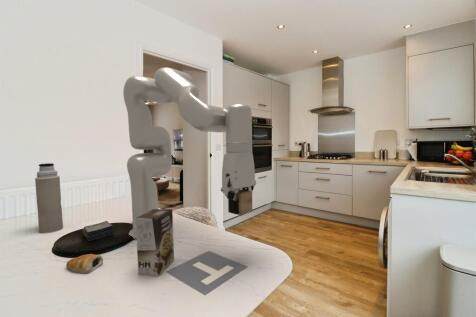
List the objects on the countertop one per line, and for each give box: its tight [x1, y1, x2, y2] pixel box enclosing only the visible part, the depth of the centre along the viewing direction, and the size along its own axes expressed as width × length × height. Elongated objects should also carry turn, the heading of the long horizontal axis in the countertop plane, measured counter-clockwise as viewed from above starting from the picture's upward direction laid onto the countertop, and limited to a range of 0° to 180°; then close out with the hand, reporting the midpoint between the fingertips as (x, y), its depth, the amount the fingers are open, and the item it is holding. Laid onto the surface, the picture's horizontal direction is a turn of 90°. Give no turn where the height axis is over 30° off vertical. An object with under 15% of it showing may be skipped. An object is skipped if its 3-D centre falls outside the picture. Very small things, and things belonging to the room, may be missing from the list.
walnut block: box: [227, 189, 253, 216], centre depth 69 cm, size 5×5×6 cm
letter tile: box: [165, 250, 248, 296], centre depth 66 cm, size 16×16×1 cm
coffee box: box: [136, 208, 175, 278], centre depth 67 cm, size 9×6×16 cm
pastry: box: [65, 253, 104, 274], centre depth 69 cm, size 9×7×4 cm
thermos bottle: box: [34, 162, 64, 234], centre depth 99 cm, size 8×8×28 cm
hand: (240, 210), depth 70 cm, fingers closed on walnut block, 5 cm apart
